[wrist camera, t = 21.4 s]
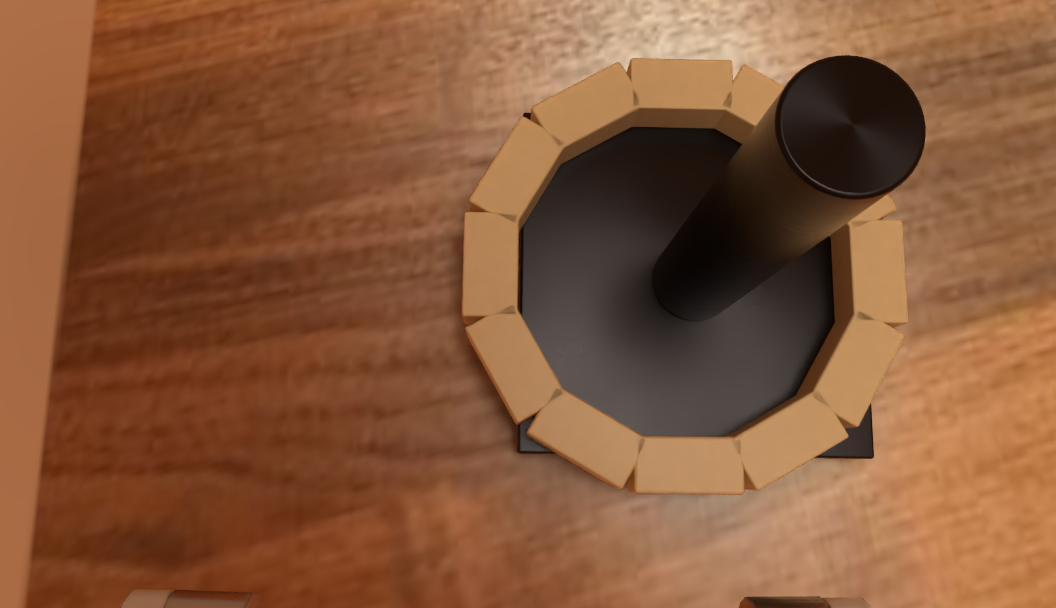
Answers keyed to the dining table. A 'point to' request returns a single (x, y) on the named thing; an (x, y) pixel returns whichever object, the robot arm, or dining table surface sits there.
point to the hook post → (711, 254)
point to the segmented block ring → (586, 432)
